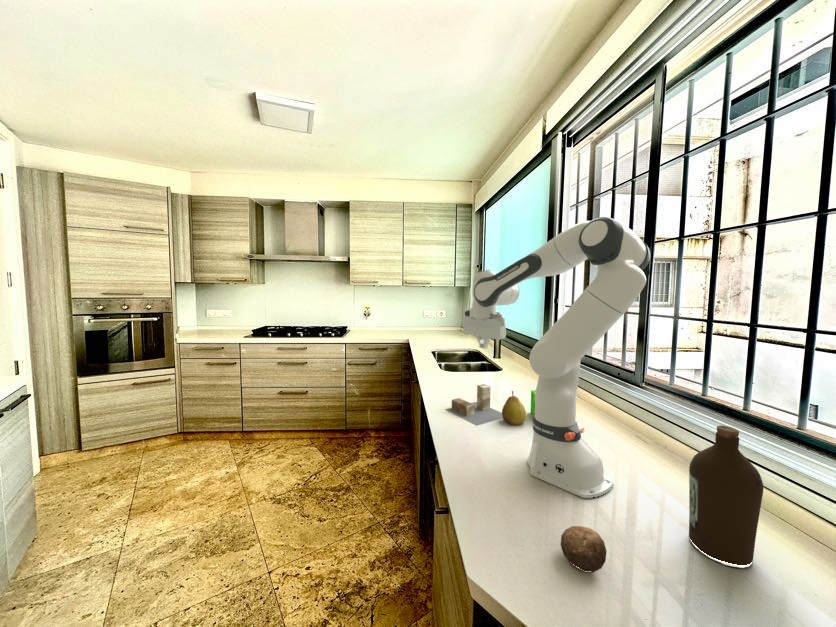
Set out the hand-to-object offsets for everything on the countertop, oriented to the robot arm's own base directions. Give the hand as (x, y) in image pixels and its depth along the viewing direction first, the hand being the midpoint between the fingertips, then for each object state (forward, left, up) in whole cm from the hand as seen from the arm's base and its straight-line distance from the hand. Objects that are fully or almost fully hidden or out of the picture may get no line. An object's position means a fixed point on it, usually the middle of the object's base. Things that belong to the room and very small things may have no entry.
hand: (483, 348), depth 127 cm
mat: (+7, -4, -29) cm, 30 cm away
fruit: (-8, -10, -30) cm, 32 cm away
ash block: (+9, -10, -29) cm, 32 cm away
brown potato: (-60, +30, -30) cm, 73 cm away
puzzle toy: (-12, -25, -30) cm, 40 cm away
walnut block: (+6, 0, -27) cm, 28 cm away
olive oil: (-73, +4, -30) cm, 78 cm away
